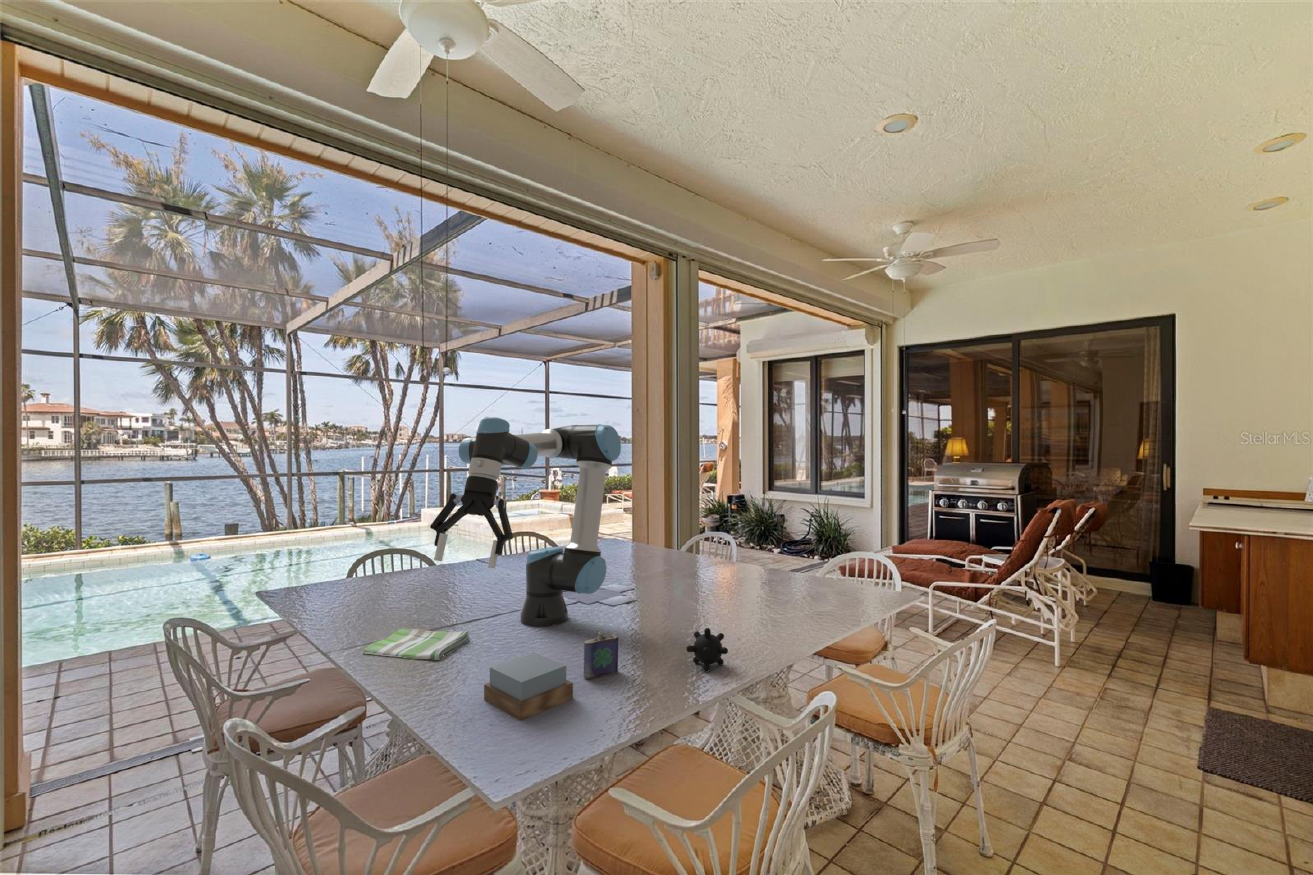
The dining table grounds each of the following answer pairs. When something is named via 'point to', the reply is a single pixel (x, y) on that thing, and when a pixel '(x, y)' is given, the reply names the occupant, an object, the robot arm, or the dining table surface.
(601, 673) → the flask
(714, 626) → the dining table surface
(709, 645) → the toy ball
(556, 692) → the tower base block
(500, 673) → the tower top block
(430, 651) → the dish towel
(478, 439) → the robot arm
